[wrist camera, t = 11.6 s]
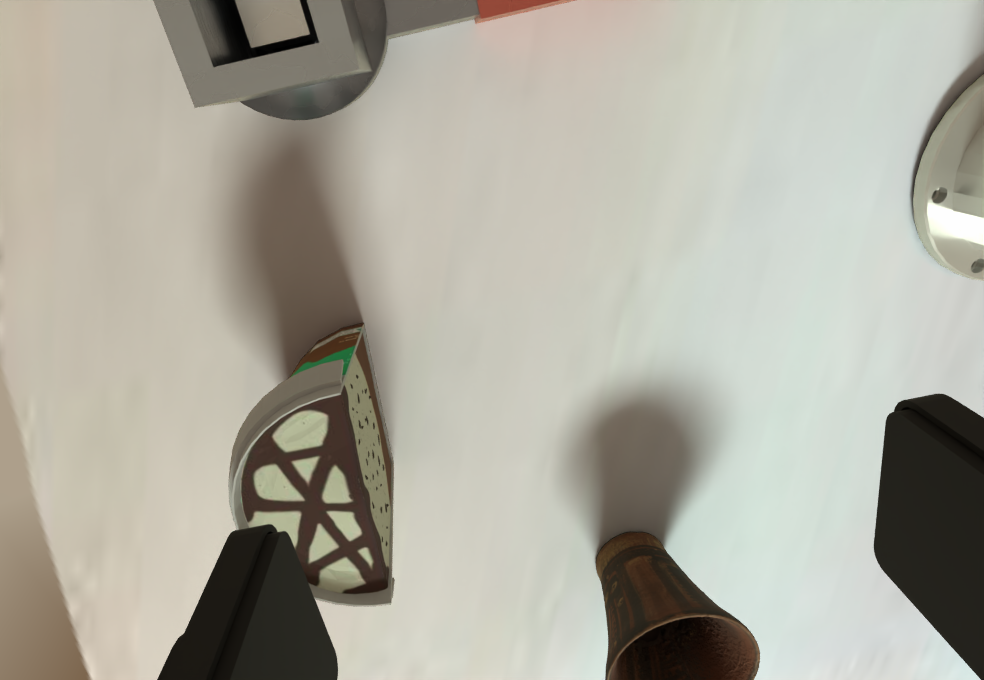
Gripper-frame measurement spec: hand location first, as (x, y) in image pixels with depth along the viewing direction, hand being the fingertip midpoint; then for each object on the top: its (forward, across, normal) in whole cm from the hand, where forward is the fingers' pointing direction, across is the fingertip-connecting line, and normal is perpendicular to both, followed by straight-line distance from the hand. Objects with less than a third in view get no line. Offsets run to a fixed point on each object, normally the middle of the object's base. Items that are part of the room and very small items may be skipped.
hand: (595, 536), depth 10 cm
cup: (+25, -6, +25) cm, 36 cm away
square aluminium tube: (+21, +6, -10) cm, 25 cm away
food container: (+24, +11, +9) cm, 28 cm away
